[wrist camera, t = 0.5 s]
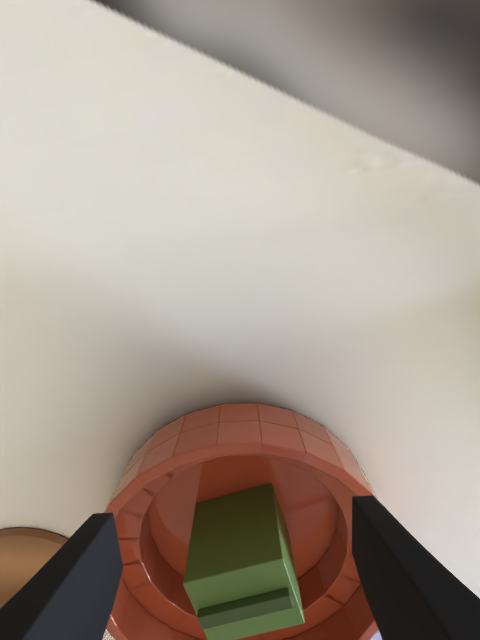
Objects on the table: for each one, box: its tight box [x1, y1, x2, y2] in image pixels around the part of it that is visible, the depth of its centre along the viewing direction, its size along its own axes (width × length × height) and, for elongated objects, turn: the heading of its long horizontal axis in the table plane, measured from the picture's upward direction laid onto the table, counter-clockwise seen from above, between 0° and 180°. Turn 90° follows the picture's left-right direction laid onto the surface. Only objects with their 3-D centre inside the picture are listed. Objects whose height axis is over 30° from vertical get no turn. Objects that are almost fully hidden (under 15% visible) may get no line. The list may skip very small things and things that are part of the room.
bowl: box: [104, 403, 380, 640], centre depth 19 cm, size 16×16×4 cm
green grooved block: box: [183, 483, 305, 640], centre depth 18 cm, size 4×5×5 cm
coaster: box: [0, 528, 68, 608], centre depth 22 cm, size 11×11×1 cm
